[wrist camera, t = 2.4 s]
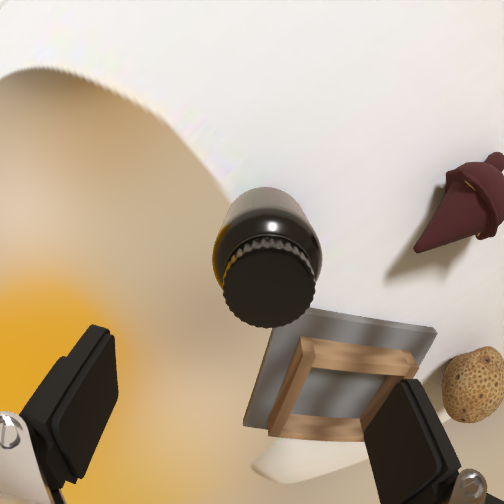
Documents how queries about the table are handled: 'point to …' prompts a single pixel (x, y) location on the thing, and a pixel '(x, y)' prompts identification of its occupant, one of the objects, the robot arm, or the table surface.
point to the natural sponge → (473, 385)
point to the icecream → (468, 204)
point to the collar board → (332, 374)
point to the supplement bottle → (267, 258)
